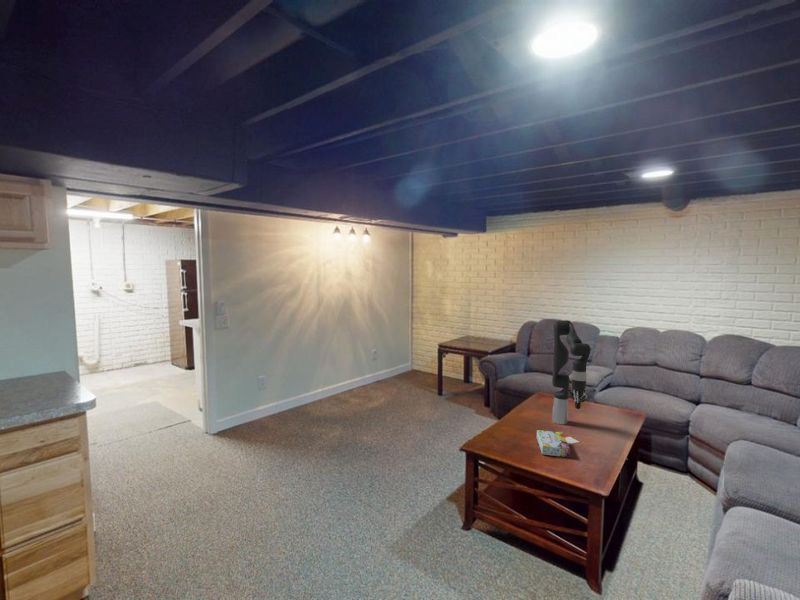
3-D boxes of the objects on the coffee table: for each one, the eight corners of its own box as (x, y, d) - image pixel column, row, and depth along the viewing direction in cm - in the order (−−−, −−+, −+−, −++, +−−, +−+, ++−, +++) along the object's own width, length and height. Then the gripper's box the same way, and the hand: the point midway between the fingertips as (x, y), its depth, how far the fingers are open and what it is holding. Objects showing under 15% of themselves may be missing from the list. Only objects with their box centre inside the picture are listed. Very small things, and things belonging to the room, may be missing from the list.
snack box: (570, 448, 220) (542, 445, 223) (570, 457, 221) (542, 455, 223) (562, 431, 241) (536, 429, 244) (561, 440, 242) (535, 438, 244)
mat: (537, 442, 240) (537, 441, 240) (569, 437, 248) (569, 436, 248) (547, 448, 232) (547, 447, 232) (579, 442, 240) (579, 441, 240)
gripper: (565, 376, 229) (563, 405, 230) (582, 382, 216) (581, 413, 218) (575, 375, 231) (574, 404, 233) (593, 381, 219) (592, 411, 220)
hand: (577, 408), depth 225 cm, fingers closed
